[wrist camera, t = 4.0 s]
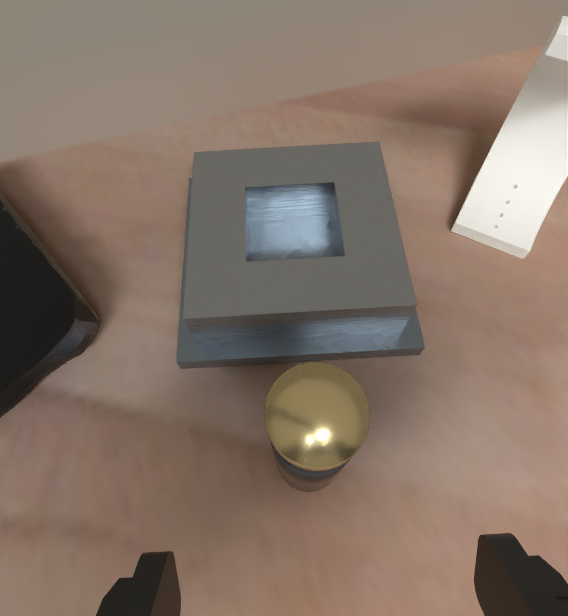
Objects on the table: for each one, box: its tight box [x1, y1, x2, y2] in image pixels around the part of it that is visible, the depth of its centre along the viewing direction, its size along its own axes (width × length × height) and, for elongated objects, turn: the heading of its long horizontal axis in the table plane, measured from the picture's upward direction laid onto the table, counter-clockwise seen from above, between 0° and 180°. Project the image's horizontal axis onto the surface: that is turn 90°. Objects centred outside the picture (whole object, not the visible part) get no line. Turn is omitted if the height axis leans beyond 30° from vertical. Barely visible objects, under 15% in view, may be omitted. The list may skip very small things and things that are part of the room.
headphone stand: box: [451, 16, 568, 259], centre depth 22 cm, size 5×6×12 cm
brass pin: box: [264, 362, 370, 492], centre depth 16 cm, size 3×3×10 cm
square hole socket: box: [177, 142, 425, 369], centre depth 24 cm, size 13×13×4 cm
